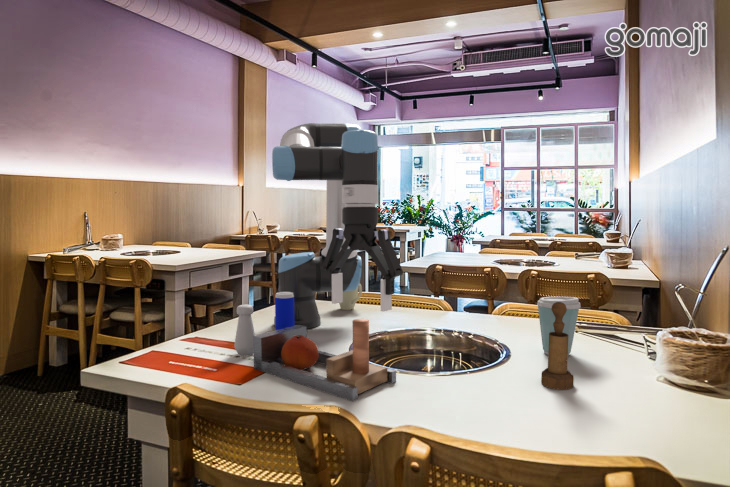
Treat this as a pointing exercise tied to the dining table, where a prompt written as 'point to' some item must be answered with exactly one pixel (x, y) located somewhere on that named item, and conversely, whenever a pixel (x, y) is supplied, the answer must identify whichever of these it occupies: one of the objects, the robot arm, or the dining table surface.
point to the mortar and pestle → (558, 354)
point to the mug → (350, 298)
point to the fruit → (299, 352)
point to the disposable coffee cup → (549, 318)
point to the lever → (357, 362)
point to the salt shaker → (244, 331)
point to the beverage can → (284, 310)
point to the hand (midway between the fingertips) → (360, 306)
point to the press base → (271, 362)
